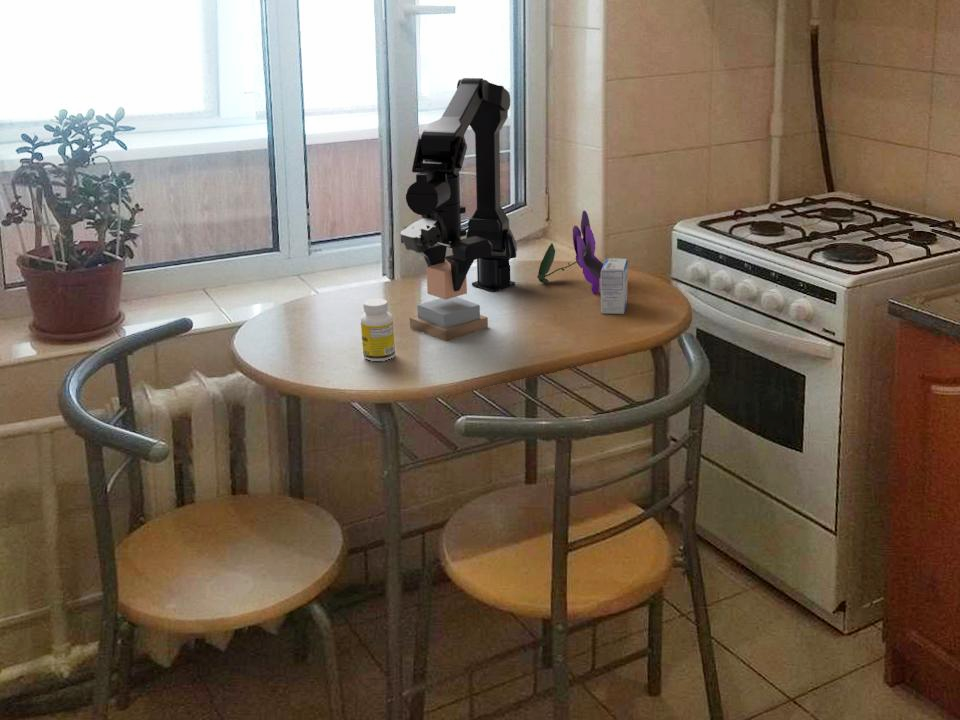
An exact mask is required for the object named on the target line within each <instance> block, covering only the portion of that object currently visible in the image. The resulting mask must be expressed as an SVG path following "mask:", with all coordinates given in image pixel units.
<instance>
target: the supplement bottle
mask: <svg viewBox="0 0 960 720" xmlns="http://www.w3.org/2000/svg"><path fill="white" fill-rule="evenodd" d="M388 305H389V304H388V301H387V300H386V299H384V298H370V299H366V300H365V301H364V302H363V311H364V313H363V314H362V316H361V317H360V329H361V331H360V333H361V341H362V353H363V358H364V359H365V360H366V359H368V360H372V361H382V360H387V361H389V360H388V359H390V360H392V359H394V358H395V356H396V347H395V345H396V344H395V333H394V332H395V330H394V318H393V314H392V313H390V312H389V311H388V310H389V306H388ZM391 358H392V359H391ZM368 360H367V361H368ZM372 361H371V362H372ZM382 362H383V361H382Z"/></svg>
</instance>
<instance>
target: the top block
mask: <svg viewBox="0 0 960 720" xmlns="http://www.w3.org/2000/svg"><path fill="white" fill-rule="evenodd" d="M480 315H481V305H480V304H478V303H476V302H472V301H470V300H467V299H464V298H462V297H459V296H456V297H453V298H450V299H446V300H445V299H442V298H438V299H434V300H433V299H432V300H429V301H426V302H422V303H417V316H418V318H420V319H423V320H425V321H428V322H430V323H433V324H435V325H437V326H440V327H442V328H447V327H451V326H455V325H458V324H462V323H465V322H469V321H472V320H476V319H480Z"/></svg>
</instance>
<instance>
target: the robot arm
mask: <svg viewBox="0 0 960 720" xmlns="http://www.w3.org/2000/svg"><path fill="white" fill-rule="evenodd" d="M510 107H511V96H510V92H509V91H508V90H507V89H506V88H505V87H504V86H503V85H499V84H496V83H492V82H490V81H488V80H486V79H483V78H482V77H481V78H480V77H478V78H477V77H476V78H473V77H468V78H467V77H463V78H462V79H461V78H460V79H459V80H458V81H457V85H456V90H455V92H454V93H453V96H452V98H451V99H450V102H449V103H448V104H447V106H446V109H444V111H443V113H442V115H441V116H440V118H439V119H437V120H435V121H433V122H431V123H429V124H428V125H427V126H426V127H425V129H423V131H422V132H421V134H420V135H419V137H418V139H417V142H416V143H417V144H416V147H415V148H416V149H415V153H414V158H413V161H412V162H413V163H412V167H411V172H412V173H416V174H415V179H416V181H415V182H413V183H411V184H410V186H409V187H408V189H407V191H406V194H405V201H406V205H407V206H408V208H409V209H410V211H412V212H413V213H415V214H416V215H418V216H419V215H420V216H421V218H420V219H419V220H416V221H415V222H413V223H411V224H410V225H407V226H403V229H402V230H401V231H400V242H401V244H403V245H404V247H405V250H407V251H413V252H415V253H418V254H420V255H421V256H422V257H423V259H424V261H425V263H426V265H427V267H428V266H432V265H436V264H439V263H443V262H447V261H448V262H449V263H450V264H451V273H452V283H453V288H454V291H459V290H460V288H461V286H462V284H463V282H464V279H465V277H466V278H467V275H468V273H469V271H470V268H471V266H472V265H473V263H474V261H475V260H476V269H477V274H476V275H477V276H476V277H477V279H476V280H477V281H473V282H471V286H473V287H477V288H480V289H484V290H487V291H489V292H495V291H496V292H497V291H499V290H502V289H505V288H509V287H512V286H516V282H515V281H513V280H511V265H510V260H512V259H515V258H517V251H518V248H517V247H518V246H517V241H516V239H515V237H514V235H513V232H512V230H511V229H510V219H509V218H508V216H507V214H506V212H505V211H504V210H503V207H502V206H501V204H502V203H501V157H500V154H501V153H500V151H501V150H500V149H501V147H500V140H501V139H500V132H501V129H503V126H504V124H505V123H506V121H507V120H508V116H509V110H510ZM469 126H470V128H471V130H472V131H473V132H474V140H475V141H474V142H475V143H474V145H475V147H474V148H475V185H476V186H475V188H476V192H475V193H476V196H475V197H476V210H475V211H474V213H473V215H472V217H470V218H469V219H468V221H467V228H468V229H465V228H464V229H463V228H462V216H461V215H462V214H465V213H466V212H467V211H466V206H463V205H461V190H460V189H461V187H460V186H461V185H460V183H461V181H460V179H461V178H460V172H461V171H462V169H463V164H464V160H465V156H466V153H467V151H468V150H467V149H468V144H467V142H466V139H465V134H466V132H467V130H468V128H469ZM462 237H465V238H462ZM448 248H449V249H451V250H452V251H451V252H452V254H451V255H447V249H448ZM446 255H447V256H446Z"/></svg>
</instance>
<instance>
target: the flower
mask: <svg viewBox="0 0 960 720" xmlns="http://www.w3.org/2000/svg"><path fill="white" fill-rule="evenodd" d="M572 242H573V247H574V252H575V261H574V262H573V263H571V264H570V263H569V262H568V263H567V264H568V265H566V266H564V267H560V268H557V269H555V270H554V271H552V272H550V273H549V271H550V270H551V267H552V265H553V263H554V259H555V255H556V249H555V246H554V243H553V242H551V243H550V245H549V246H548V248H547V250H546V252H545V254H544V255H543V258H542V261H541V262H540V265H539V270H538V273H537V277H536V278H537V279H538V281H539V282H540V283H542V284H545V285H547V284H548V283H549V280H548V278H547V277H549V276H551V275H553V274H555V273H556V272H558V271H560V270H561V271H565V269H566V268H569V267H570V268H571V266H573V265H575V264H576V263H577V265H578V266H579V268H581V269H582V274H583V276H584V279H585V281H587V282H588V283H590V284H591V293H592V295H594V294H598V293H599V291H600V286H601V283H600V280H601V270H602V267H603V265H604V262H602V261H601V260H600V259H599V258H598V257H597V256H596V255H595V252H596V239H595V235H594V233H593V230H592V229H591V223H590V218H589V214H588V213H587V211H586V210H583V211H582V214H581V220H580V228H579V227H578V225H573V227H572Z"/></svg>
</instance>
